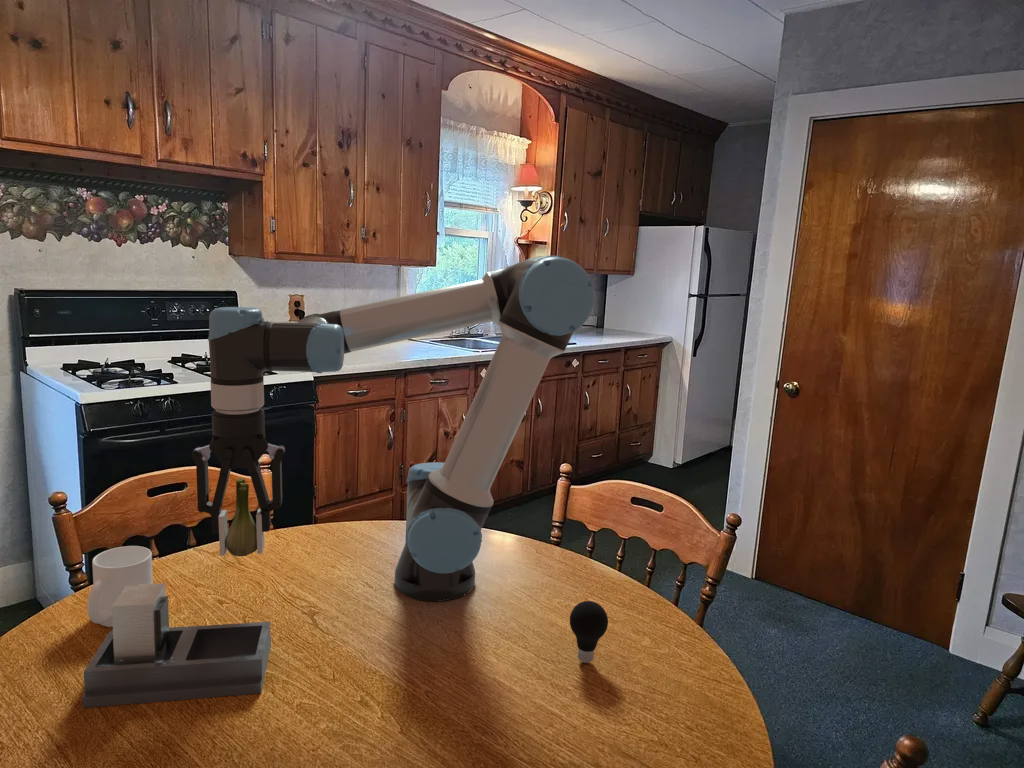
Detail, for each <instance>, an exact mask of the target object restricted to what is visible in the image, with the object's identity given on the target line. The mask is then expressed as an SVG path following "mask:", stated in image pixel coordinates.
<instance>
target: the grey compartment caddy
mask: <svg viewBox="0 0 1024 768" xmlns="http://www.w3.org/2000/svg"><path fill="white" fill-rule="evenodd" d="M169 615H170V614H169V596H166V583H163V582H162V583H153V584H140V585H126V586H125V588H124V589H123V591H122V592H121V593H120V595H119V596H118V598H117V599H116V601H115V602H114V604H113V605H112V623H113V628H112V630H110V631H109V632H108V633H107V635H106V636H105V638H104V639H103V641H102V643H100V646H99V647H98V648H97V650H96V652H95V653H94V655H93V657H92V658H91V660H90V661H89V663H88V665H86V667H85V669H84V671H83V685H84V686H83V687H84V689H83V690H84V693H83V695H82V697H81V706H82V709H85V708H98V707H109V706H112V707H113V706H121V705H123V706H124V705H132V704H133V705H134V704H146V703H147V704H149V703H156V702H159V703H160V702H170V701H171V702H172V701H181V700H194V699H195V700H196V699H208V698H218V697H220V698H222V697H230V696H231V697H232V696H242V695H243V696H244V695H256V694H262V692H263V686H264V681H265V677H266V676H265V675H266V671H267V665H268V663H269V662H268V661H269V657H270V652H271V647H272V636H271V621H261V622H260V621H259V622H240V623H226V624H223V623H222V624H209V625H208V624H206V625H193V626H191V625H190V626H189V625H188V626H172V627H170V621H169V620H170V618H169V617H170V616H169Z"/></svg>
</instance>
